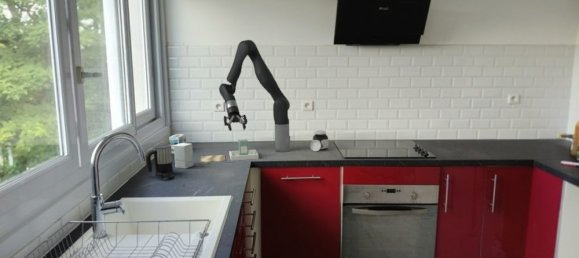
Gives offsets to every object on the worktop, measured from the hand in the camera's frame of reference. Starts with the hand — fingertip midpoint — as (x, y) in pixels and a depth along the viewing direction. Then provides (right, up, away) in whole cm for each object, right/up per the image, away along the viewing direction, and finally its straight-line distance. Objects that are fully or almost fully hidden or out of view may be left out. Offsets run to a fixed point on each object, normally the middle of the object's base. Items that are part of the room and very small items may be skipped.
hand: (237, 129), depth 258 cm
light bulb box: (-39, -15, +12) cm, 44 cm away
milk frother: (-32, -24, -42) cm, 58 cm away
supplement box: (-27, -21, -25) cm, 42 cm away
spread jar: (+51, -13, +10) cm, 53 cm away
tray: (+4, -17, -8) cm, 19 cm away
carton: (+4, -16, -8) cm, 18 cm away
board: (-13, -18, -11) cm, 25 cm away
